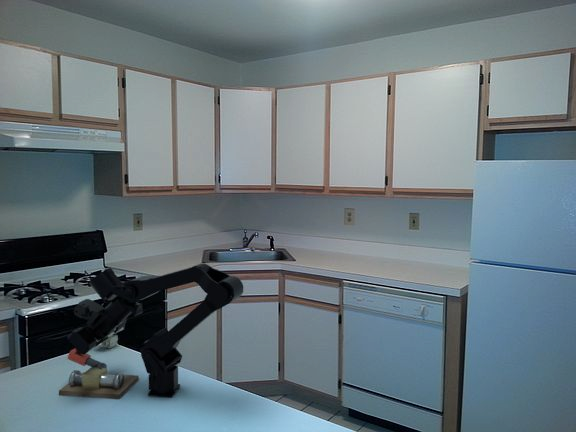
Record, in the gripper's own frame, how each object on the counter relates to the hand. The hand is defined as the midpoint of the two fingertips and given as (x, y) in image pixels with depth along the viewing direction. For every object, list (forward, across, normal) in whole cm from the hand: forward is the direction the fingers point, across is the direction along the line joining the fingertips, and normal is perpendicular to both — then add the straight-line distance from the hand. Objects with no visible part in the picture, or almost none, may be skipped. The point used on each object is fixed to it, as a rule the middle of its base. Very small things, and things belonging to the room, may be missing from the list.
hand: (77, 351), depth 121 cm
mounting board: (+1, +2, +11) cm, 12 cm away
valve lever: (-3, 0, +9) cm, 9 cm away
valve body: (0, +4, +11) cm, 12 cm away
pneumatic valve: (+10, -26, +3) cm, 28 cm away
